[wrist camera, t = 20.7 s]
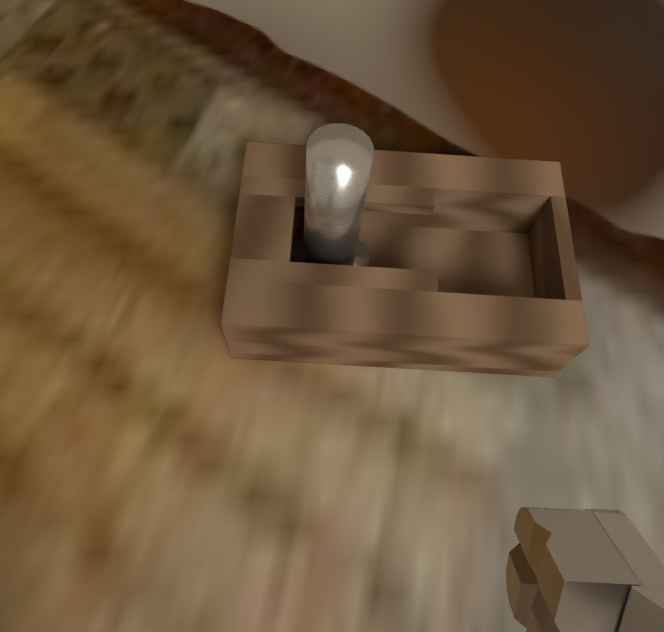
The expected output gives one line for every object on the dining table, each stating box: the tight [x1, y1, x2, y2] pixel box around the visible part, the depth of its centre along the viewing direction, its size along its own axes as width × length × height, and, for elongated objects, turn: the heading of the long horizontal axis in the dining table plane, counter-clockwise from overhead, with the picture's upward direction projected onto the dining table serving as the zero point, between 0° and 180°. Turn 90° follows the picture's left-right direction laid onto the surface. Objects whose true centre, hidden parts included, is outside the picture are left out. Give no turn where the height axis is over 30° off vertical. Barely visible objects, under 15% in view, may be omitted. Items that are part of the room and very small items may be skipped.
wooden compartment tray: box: [221, 141, 589, 377], centre depth 40 cm, size 22×14×6 cm, turn 87°
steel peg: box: [290, 123, 374, 267], centre depth 36 cm, size 6×6×12 cm
